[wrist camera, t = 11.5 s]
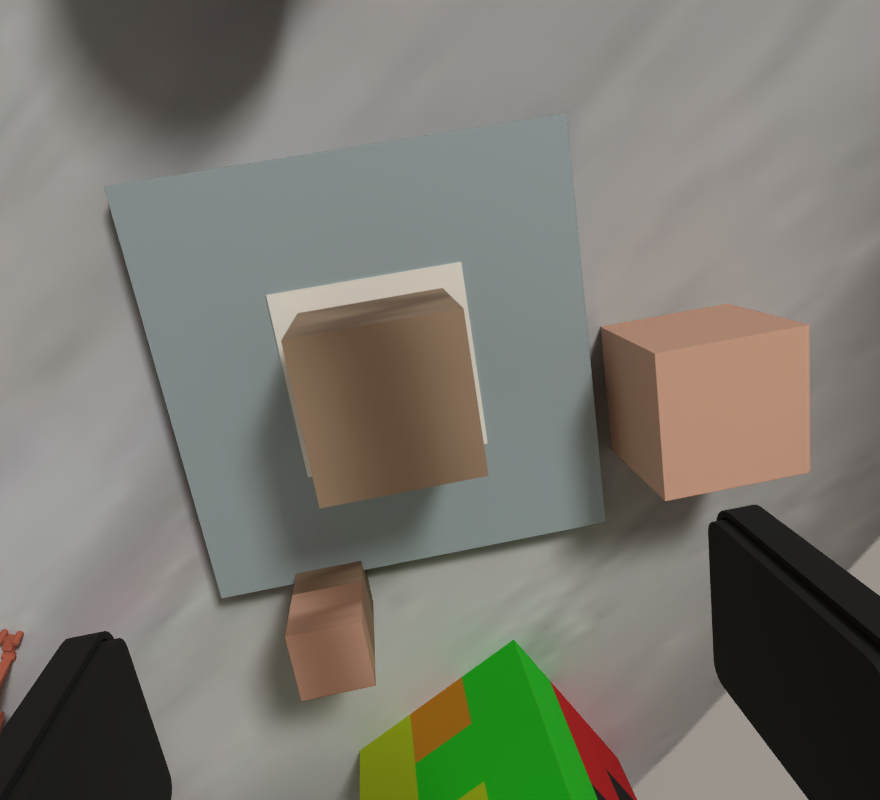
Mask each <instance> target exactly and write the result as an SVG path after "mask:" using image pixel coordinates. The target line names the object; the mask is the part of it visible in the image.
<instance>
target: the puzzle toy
mask: <svg viewBox="0 0 880 800" xmlns="http://www.w3.org/2000/svg"><path fill="white" fill-rule="evenodd" d="M360 800H637V799H636V797H635V795H634V793H633V790H632V788H631V786H630V784H629V782H628V780H627V777H626V775H625V773H624V771H623V769H622V767H621V765H620V762H619V760H618V758H617V757H616V756H615V755H614V754H613V752H612V751H611V750H610V749H609V748H608V747H607V746H606V744H605V743H604V742H603V741H602V740H601V739H600V738H599V736H598V735H597V734H596V733H595V732H594V731H593V730H592V728H591V727H590V726H589V725H588V724H587V723H586V722H585V720H584V719H583V718H582V717H581V716H580V715H579V714H578V712H577V711H576V710H575V709H574V708H573V707H572V706H571V704H570V703H569V702H568V701H567V700H566V699H565V698H564V696H563V695H562V694H561V693H560V692H559V691H558V690H557V688H556V687H555V686H554V685H553V684H552V683H551V682H550V680H549V679H548V678H547V677H546V676H545V675H544V674H543V672H542V671H541V670H540V669H539V668H538V667H537V666H536V664H535V663H534V662H533V661H532V660H531V659H530V658H529V656H528V655H527V654H526V653H525V652H524V651H523V650H522V648H521V647H520V646H519V645H518V644H517V643H516V642H515V640H513V641H511V642H510V643H509V644H507V645H506V646H504V647H503V648H502V649H500V650H499V651H498V652H496V653H495V654H493V655H492V656H491V657H489V658H488V659H486V660H485V661H484V662H482V663H481V664H480V665H478V666H477V667H475V668H474V669H473V670H471V671H470V672H468V673H467V674H466V675H464V676H463V677H461V678H460V679H459V680H457V681H456V682H455V683H453V684H452V685H450V686H449V687H448V688H446V689H445V690H443V691H442V692H441V693H439V694H438V695H437V696H435V697H434V698H432V699H431V700H430V701H428V702H427V703H425V704H424V705H423V706H421V707H420V708H418V709H417V710H416V711H414V712H413V713H412V714H410V715H409V716H407V717H406V718H405V719H403V720H402V721H400V722H399V723H398V724H396V725H395V726H394V727H392V728H391V729H389V730H388V731H387V732H385V733H384V734H382V735H381V736H380V737H378V738H377V739H376V740H374V741H373V742H371V743H370V744H369V745H367V746H366V747H364V748H363V749H362V750H360Z"/></svg>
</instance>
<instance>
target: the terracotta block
mask: <svg viewBox="0 0 880 800" xmlns="http://www.w3.org/2000/svg"><path fill="white" fill-rule="evenodd" d="M601 338H602V349H603V360H604V371H605V381H606V392H607V403H608V414H609V424H610V435H611V446H612V451H613V452H614V453H615V454H616V455H618V456H619V457H620V458H621V459H622V460H623V461H624V462H625V463H626V464H627V465H628V466H629V467H630V468H631V469H632V470H633V471H634V472H635V473H636V474H637V475H638V476H639V477H640V478H641V479H642V480H644V481H645V482H646V483H647V484H648V485H649V486H650V487H651V488H652V489H653V490H654V491H655V492H656V493H657V494H658V495H659V496H660V497H661V498H662V499H663V500H664V501H669V500H674V499H679V498H684V497H689V496H694V495H699V494H704V493H709V492H714V491H719V490H724V489H729V488H734V487H739V486H744V485H749V484H754V483H759V482H764V481H769V480H774V479H779V478H784V477H789V476H794V475H799V474H804V473H809V472H810V325H808V324H804V323H801V322H797V321H793V320H789V319H785V318H781V317H777V316H773V315H770V314H766V313H762V312H758V311H754V310H750V309H746V308H742V307H739V306H735V305H731V304H723V305H718V306H712V307H707V308H701V309H696V310H690V311H685V312H679V313H674V314H668V315H663V316H657V317H652V318H646V319H641V320H635V321H630V322H624V323H619V324H613V325H608V326H602V327H601Z"/></svg>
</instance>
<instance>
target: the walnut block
mask: <svg viewBox="0 0 880 800" xmlns="http://www.w3.org/2000/svg"><path fill="white" fill-rule="evenodd" d="M281 343H282V347H283V351H284V356H285V360H286V365H287V369H288V373H289V378H290V382H291V386H292V391H293V395H294V399H295V404H296V408H297V412H298V417H299V421H300V425H301V430H302V434H303V438H304V443H305V447H306V451H307V456H308V460H309V464H310V469H311V473H312V477H313V482H314V486H315V490H316V495H317V499H318V503H319V508H325V507H330V506H336V505H341V504H346V503H351V502H356V501H361V500H367V499H372V498H377V497H382V496H387V495H392V494H397V493H403V492H408V491H413V490H418V489H423V488H428V487H434V486H439V485H444V484H449V483H454V482H459V481H465V480H470V479H475V478H480V477H485V476H489V475H488V468H487V462H486V455H485V448H484V442H483V435H482V428H481V421H480V415H479V408H478V401H477V395H476V388H475V381H474V375H473V368H472V361H471V355H470V348H469V341H468V335H467V328H466V321H465V314H464V308H463V307H462V306H461V305H460V304H459V303H458V302H457V301H455V300H454V299H453V298H452V297H451V296H450V295H449V294H448V293H447V292H446V291H445V290H444V289H443V288H439V289H433V290H428V291H422V292H416V293H410V294H405V295H399V296H393V297H388V298H382V299H376V300H370V301H365V302H359V303H353V304H347V305H342V306H336V307H330V308H325V309H319V310H313V311H307V312H302V313H297V315H296V317H295V318H294V320H293V322H292V323H291V325H290V327H289V328H288V330H287V332H286V333H285V335H284V337H283V338H282V340H281Z"/></svg>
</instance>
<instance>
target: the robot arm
mask: <svg viewBox="0 0 880 800" xmlns="http://www.w3.org/2000/svg"><path fill="white" fill-rule="evenodd" d="M708 537H709V560H710V583H711V606H712V629H713V652H714V665H715V669H716V672H717V675H718V678H719V680H720V682H721V684H722V685H723V687H724V688H725V689H726V691H727V692H728V693H729V695H730V696H731V697H732V699H733V700H734V701H735V703H736V704H737V705H738V706H739V708H740V709H741V710H742V712H743V713H744V715H745V716H746V717H747V719H748V720H749V721H750V723H751V724H752V725H753V727H754V728H755V729H756V730H757V732H758V733H759V734H760V736H761V737H762V738H763V740H764V741H765V742H766V743H767V745H768V746H769V748H770V749H771V750H772V752H773V753H774V754H775V756H776V757H777V758H778V760H779V761H780V762H781V764H782V765H783V766H784V768H785V769H786V770H787V772H788V773H789V774H790V776H791V777H792V778H793V780H794V781H795V782H796V784H797V785H798V786H799V788H800V789H801V790H802V791H803V793H804V794H805V795H806V797H807V798H808V799H809V800H880V596H879V595H878V594H876V593H875V592H874V591H872V590H871V589H869V588H868V587H867V586H866V585H864V584H863V583H861V582H860V581H859V580H858V579H856V578H855V577H854V576H852V575H851V574H850V573H848V572H847V571H846V570H844V569H843V568H842V567H840V566H839V565H838V564H836V563H835V562H834V561H832V560H831V559H830V558H828V557H827V556H826V555H824V554H823V553H822V552H820V551H819V550H818V549H816V548H815V547H814V546H812V545H811V544H810V543H808V542H807V541H806V540H804V539H803V538H802V537H800V536H799V535H798V534H796V533H795V532H794V531H792V530H791V529H790V528H788V527H787V526H786V525H784V524H783V523H782V522H780V521H779V520H778V519H776V518H775V517H774V516H772V515H771V514H770V513H768V512H767V511H766V510H764V509H763V508H762V507H760V506H758V505H750V506H745V507H740V508H734V509H729V510H724V511H721V512H720V513H719V514H718V517H717V521H715V522H711V523H710V525H709V529H708ZM171 795H172V783H171V777H170V773H169V770H168V767H167V764H166V761H165V758H164V755H163V752H162V749H161V746H160V743H159V740H158V737H157V734H156V731H155V728H154V725H153V722H152V719H151V716H150V713H149V710H148V707H147V704H146V701H145V698H144V695H143V692H142V689H141V686H140V683H139V680H138V677H137V674H136V671H135V668H134V665H133V662H132V659H131V656H130V653H129V650H128V647H127V645H126V643H125V641H124V640H123V639H121V638H118V639H114V638H113V636H112V635H111V634H110V633H109V632H107V631H104V632H98V633H93V634H88V635H83V636H78V637H73V638H69V639H66V640H65V641H64V642H63V643H62V644H61V645H60V647H59V648H58V650H57V651H56V653H55V654H54V656H53V657H52V659H51V660H50V661H49V663H48V664H47V666H46V667H45V669H44V670H43V672H42V673H41V675H40V676H39V677H38V679H37V680H36V682H35V683H34V685H33V686H32V688H31V689H30V691H29V692H28V693H27V695H26V696H25V698H24V699H23V701H22V702H21V704H20V705H19V707H18V708H17V709H16V711H15V712H14V714H13V715H12V717H11V718H10V720H9V721H8V723H7V724H6V725H5V727H4V728H3V730H2V731H1V733H0V800H171Z"/></svg>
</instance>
